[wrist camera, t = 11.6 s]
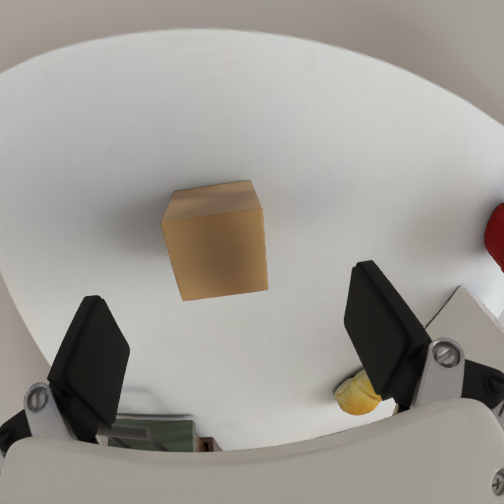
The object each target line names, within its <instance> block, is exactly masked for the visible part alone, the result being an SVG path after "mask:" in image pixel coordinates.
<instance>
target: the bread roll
mask: <svg viewBox="0 0 504 504" xmlns="http://www.w3.org/2000/svg"><path fill="white" fill-rule="evenodd" d="M334 399H335V400H337V401H338V404H339V406H340V408H341V409H342V410H343V411H345V412H347V413H349V414H352V415H363V414H366V413H369V412H371V411H372V410H374V409H375V408H376V407H377V405H378V404H379V403H380V401H382V399H381V396H380V395H376V394H375V392H374V390H373V387H372V385H371V383H370V380H369V378H368V376H367V374H366V371H365V369H362V370H361V371H359V372H358V373H357V374H356V375H355V377H354V378H349V379H347V380H346V381H344V382H343V383H342V384H341V385H340V386H339V387H338V388H337V390H336V391H335V394H334Z"/></svg>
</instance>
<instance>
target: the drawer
mask: <svg viewBox="0 0 504 504" xmlns="http://www.w3.org/2000/svg"><path fill="white" fill-rule="evenodd" d="M97 433H98V435H101V436H106V437H107V438H109V439H108V446H111V447H118V448H126V449H135V450H146V451H160V452H209V449H208V448H207V447H206V446H205V444H204V443H203V442H202V441H201V440H200V438H199V437H198V436H197V435H196V433H195V423H194V422H193V420H180V421H155V420H131V419H117V418H116V420H115V423H114V424H112V427H111V430H104V429H99V428H98V432H97Z"/></svg>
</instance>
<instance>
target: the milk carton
mask: <svg viewBox="0 0 504 504" xmlns="http://www.w3.org/2000/svg"><path fill="white" fill-rule="evenodd" d="M425 330H426V332H427V333H428V335H429V336H430V338H431V339H432V341H433V340H435V339H437V338H441V337H445V338H450V339H452V340H454V341H456V342H457V343H458V344H459V345H460V346H461V347H462V349H463V351H464V354H465V359H468V360H471V361H474V362H477V363H480V364H483V365H486V366H489V367H492V368H495V369H498V370H500V371H501V372H502V373H503V374H504V327H503V326H502V325H501V323H500V322H499V321H498V320H497V318H496V317H495V316H494V315H493V314H492V312H491V311H490V310H489V309H488V308H487V307H486V306H485V304H484V303H483V302H482V301H481V300H480V299H479V298H478V297H476V296H475V295H473V294H472V293H471V292H469V291H468V290H466V289H465V288H463V287H462V286H460V287H459V288H458V289H457V291H456V292H455V293H454V295H453V296H452V297H451V299H450V300H449V301H448V302H447V304H446V305H445V306H444V307H443V309H442V310H441V311H440V312H439V314H438V315H437V316H436V317H435V318H434V320H433V321H432V322H431V323H430V324H429V325H428V327H427V328H426V329H425Z"/></svg>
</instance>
